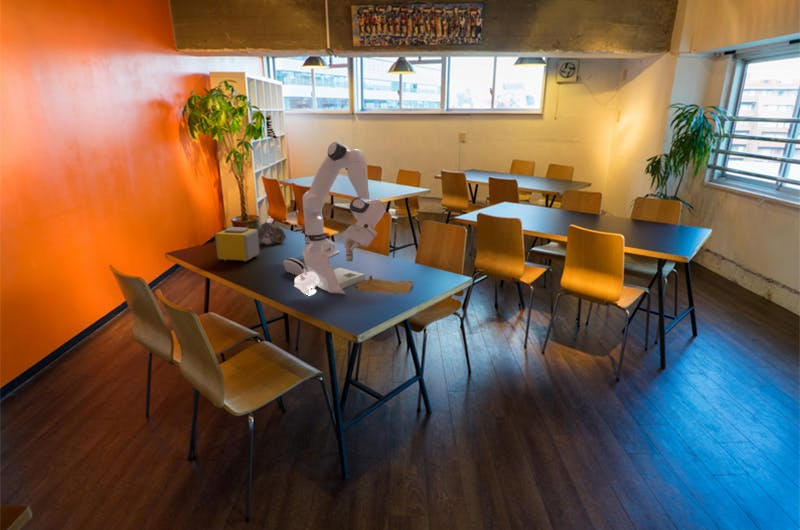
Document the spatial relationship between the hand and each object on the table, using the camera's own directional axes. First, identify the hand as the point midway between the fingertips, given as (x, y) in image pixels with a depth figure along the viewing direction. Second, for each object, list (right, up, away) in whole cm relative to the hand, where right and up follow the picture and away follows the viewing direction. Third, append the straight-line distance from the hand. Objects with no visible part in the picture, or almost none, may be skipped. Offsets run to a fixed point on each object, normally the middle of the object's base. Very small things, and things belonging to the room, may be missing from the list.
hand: (348, 248), depth 229 cm
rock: (-60, +7, +78) cm, 99 cm away
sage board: (-5, -16, +5) cm, 18 cm away
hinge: (-29, -13, +15) cm, 36 cm away
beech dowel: (+1, -6, +2) cm, 6 cm away
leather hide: (+19, -20, -5) cm, 29 cm away
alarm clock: (-69, -5, +41) cm, 81 cm away
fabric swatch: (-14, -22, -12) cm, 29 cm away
